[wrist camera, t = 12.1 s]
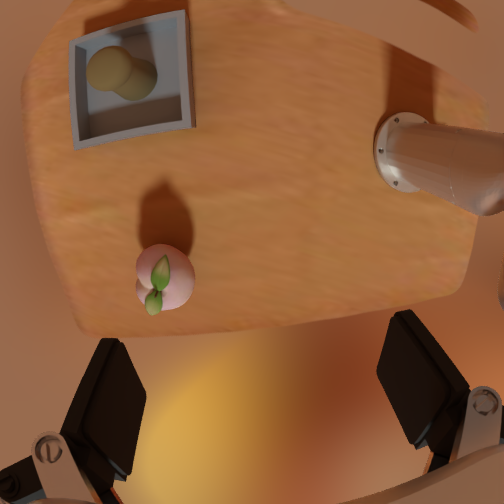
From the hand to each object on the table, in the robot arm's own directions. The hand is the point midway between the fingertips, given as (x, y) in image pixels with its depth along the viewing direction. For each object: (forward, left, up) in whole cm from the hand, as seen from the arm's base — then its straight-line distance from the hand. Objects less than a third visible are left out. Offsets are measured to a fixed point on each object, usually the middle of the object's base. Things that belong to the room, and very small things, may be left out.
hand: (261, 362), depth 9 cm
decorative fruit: (+11, +11, -32) cm, 36 cm away
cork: (+12, -16, -32) cm, 37 cm away
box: (+13, -16, -32) cm, 38 cm away
